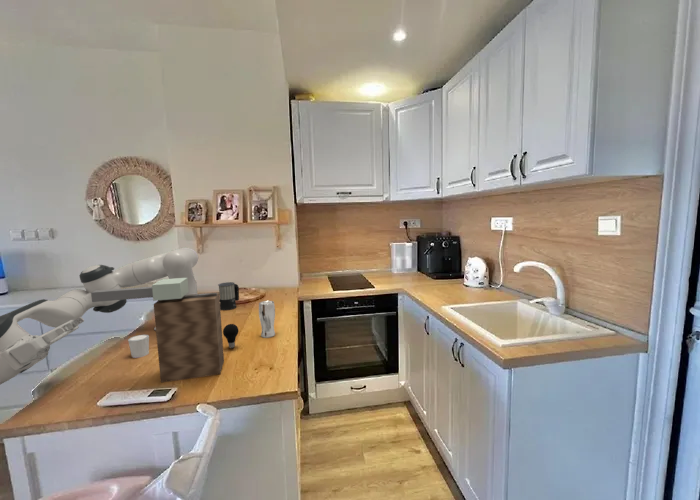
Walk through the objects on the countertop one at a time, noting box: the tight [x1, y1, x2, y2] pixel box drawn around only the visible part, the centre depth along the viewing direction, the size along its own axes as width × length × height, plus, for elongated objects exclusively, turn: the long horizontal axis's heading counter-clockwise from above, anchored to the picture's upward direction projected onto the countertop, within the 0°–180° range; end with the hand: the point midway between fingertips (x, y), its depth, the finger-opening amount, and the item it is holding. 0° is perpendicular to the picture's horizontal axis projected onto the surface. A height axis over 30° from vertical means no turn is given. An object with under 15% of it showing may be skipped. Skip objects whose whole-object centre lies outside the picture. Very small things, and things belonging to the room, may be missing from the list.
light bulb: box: [222, 323, 239, 349], centre depth 128 cm, size 6×6×10 cm
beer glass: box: [258, 300, 276, 339], centre depth 141 cm, size 7×7×15 cm
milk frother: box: [217, 281, 240, 311], centre depth 189 cm, size 14×16×15 cm
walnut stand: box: [153, 291, 225, 383], centre depth 108 cm, size 18×10×27 cm, turn 105°
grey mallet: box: [91, 278, 189, 302], centre depth 103 cm, size 26×10×5 cm, turn 105°
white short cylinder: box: [127, 334, 150, 359], centre depth 124 cm, size 7×7×7 cm
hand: (73, 323), depth 99 cm, fingers open, 8 cm apart
